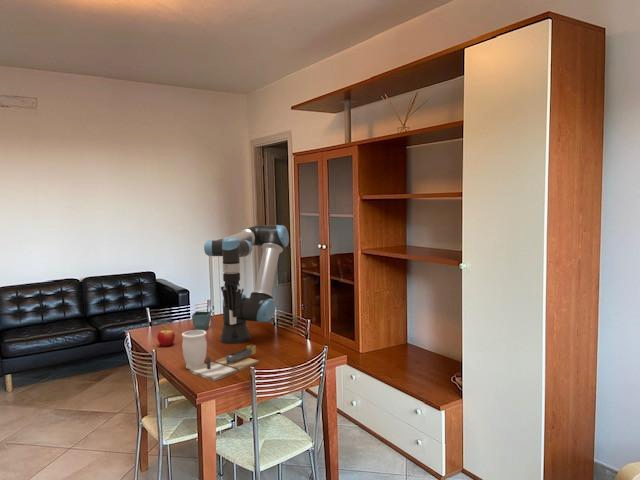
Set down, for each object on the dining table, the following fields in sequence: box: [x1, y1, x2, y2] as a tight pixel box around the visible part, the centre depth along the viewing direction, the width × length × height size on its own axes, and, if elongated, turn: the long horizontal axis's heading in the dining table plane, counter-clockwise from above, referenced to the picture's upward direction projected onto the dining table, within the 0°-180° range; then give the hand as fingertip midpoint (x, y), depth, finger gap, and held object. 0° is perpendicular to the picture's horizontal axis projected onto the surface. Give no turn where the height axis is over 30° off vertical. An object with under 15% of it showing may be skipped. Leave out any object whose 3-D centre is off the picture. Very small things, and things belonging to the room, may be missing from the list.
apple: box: [156, 326, 176, 347], centre depth 240 cm, size 8×8×10 cm
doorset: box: [189, 356, 260, 382], centre depth 207 cm, size 16×25×6 cm, turn 142°
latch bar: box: [225, 343, 256, 362], centre depth 214 cm, size 16×4×4 cm, turn 142°
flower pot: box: [191, 311, 212, 331], centre depth 270 cm, size 9×9×9 cm
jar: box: [181, 329, 208, 370], centre depth 210 cm, size 11×10×15 cm
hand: (233, 323), depth 219 cm, fingers closed
